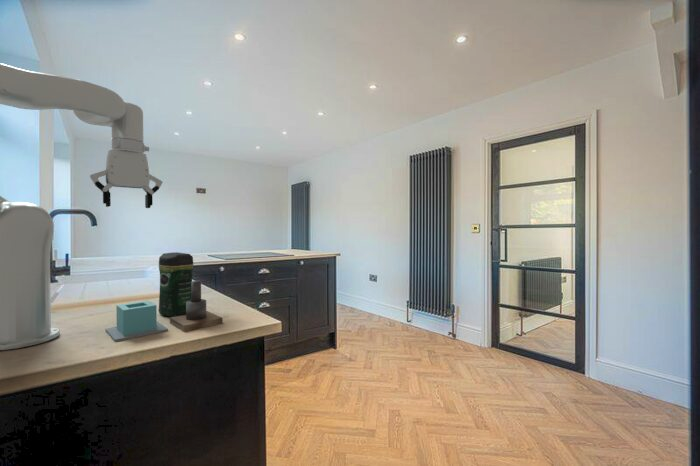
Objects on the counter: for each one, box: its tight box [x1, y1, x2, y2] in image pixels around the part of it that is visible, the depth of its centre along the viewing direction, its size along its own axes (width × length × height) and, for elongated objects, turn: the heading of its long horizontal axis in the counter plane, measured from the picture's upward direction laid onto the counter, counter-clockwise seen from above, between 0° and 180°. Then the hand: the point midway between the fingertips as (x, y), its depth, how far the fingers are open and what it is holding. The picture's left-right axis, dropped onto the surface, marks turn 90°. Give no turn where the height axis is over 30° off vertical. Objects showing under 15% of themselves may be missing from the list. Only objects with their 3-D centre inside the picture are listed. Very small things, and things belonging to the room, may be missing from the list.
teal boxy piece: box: [115, 300, 158, 335], centre depth 81 cm, size 7×7×6 cm
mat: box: [104, 321, 169, 343], centre depth 81 cm, size 11×11×1 cm
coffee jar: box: [158, 251, 195, 318], centre depth 96 cm, size 10×8×19 cm
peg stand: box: [169, 280, 223, 332], centre depth 87 cm, size 10×10×12 cm
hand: (128, 207), depth 93 cm, fingers open, 9 cm apart
